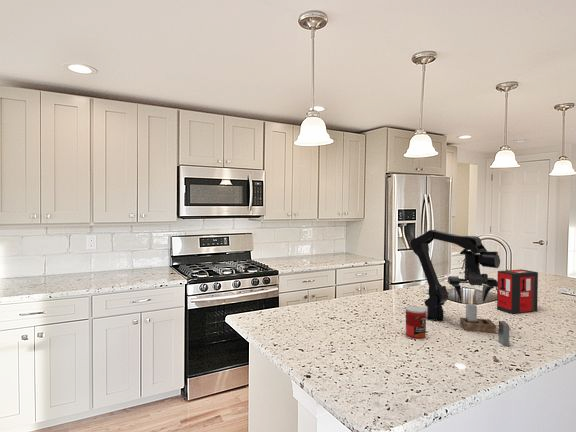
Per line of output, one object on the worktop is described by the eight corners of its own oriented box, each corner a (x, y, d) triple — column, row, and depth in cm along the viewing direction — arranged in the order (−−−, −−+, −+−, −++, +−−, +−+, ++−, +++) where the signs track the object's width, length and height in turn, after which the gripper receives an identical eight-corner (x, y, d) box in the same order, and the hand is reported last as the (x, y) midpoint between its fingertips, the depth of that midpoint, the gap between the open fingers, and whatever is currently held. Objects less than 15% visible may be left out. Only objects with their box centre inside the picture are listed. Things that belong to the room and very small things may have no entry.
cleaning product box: (512, 314, 177) (513, 274, 176) (497, 309, 185) (497, 271, 185) (537, 311, 182) (537, 272, 182) (520, 307, 191) (521, 269, 190)
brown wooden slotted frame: (464, 330, 153) (464, 323, 153) (460, 324, 162) (460, 317, 162) (496, 333, 150) (496, 325, 150) (489, 326, 159) (489, 319, 159)
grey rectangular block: (503, 346, 136) (503, 325, 136) (498, 341, 141) (498, 320, 141) (509, 346, 136) (509, 325, 136) (504, 341, 141) (504, 321, 141)
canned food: (416, 340, 142) (416, 312, 142) (401, 334, 149) (401, 307, 149) (430, 337, 145) (430, 310, 145) (414, 331, 153) (415, 305, 152)
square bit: (467, 328, 156) (467, 305, 155) (465, 326, 159) (465, 303, 159) (476, 329, 155) (476, 306, 155) (474, 326, 158) (474, 304, 158)
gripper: (452, 267, 151) (452, 304, 151) (502, 269, 146) (501, 307, 146) (447, 263, 161) (447, 298, 162) (493, 265, 157) (493, 300, 157)
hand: (471, 301), depth 157 cm, fingers open, 9 cm apart
